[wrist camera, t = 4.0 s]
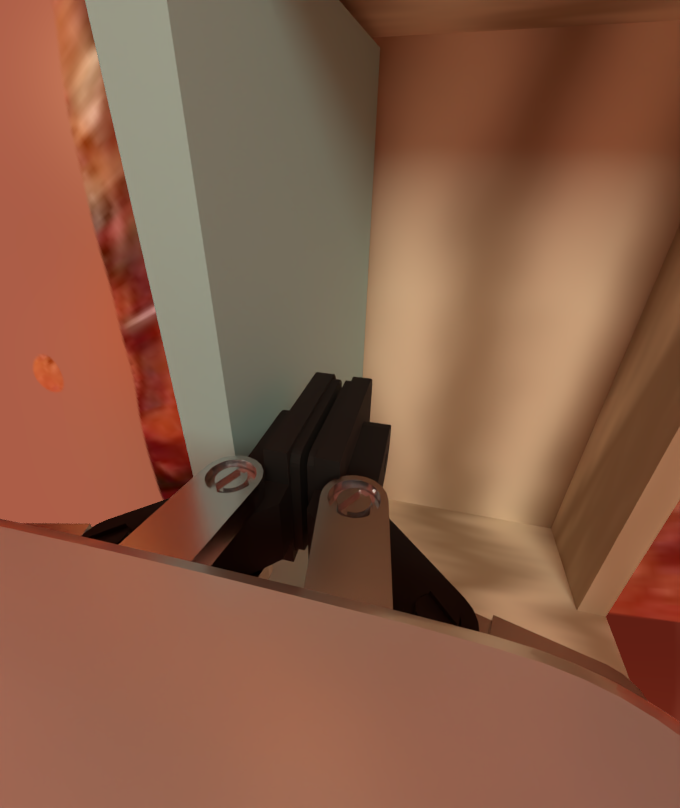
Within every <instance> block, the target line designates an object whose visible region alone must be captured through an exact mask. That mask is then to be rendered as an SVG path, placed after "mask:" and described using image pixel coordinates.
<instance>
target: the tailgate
mask: <svg viewBox="0 0 680 808" xmlns="http://www.w3.org/2000/svg"><path fill="white" fill-rule="evenodd" d="M85 2H86V6H87V11H88V15H89V20H90V24H91V28H92V33H93V37H94V42H95V46H96V50H97V55H98V59H99V64H100V68H101V72H102V77H103V81H104V86H105V90H106V94H107V99H108V103H109V108H110V112H111V116H112V121H113V125H114V130H115V134H116V138H117V143H118V147H119V152H120V156H121V160H122V165H123V169H124V174H125V178H126V182H127V187H128V191H129V196H130V200H131V204H132V209H133V213H134V218H135V222H136V226H137V231H138V235H139V240H140V244H141V248H142V253H143V257H144V262H145V266H146V270H147V275H148V279H149V284H150V288H151V292H152V297H153V301H154V306H155V310H156V314H157V319H158V323H159V328H160V332H161V336H162V341H163V345H164V350H165V354H166V358H167V363H168V367H169V372H170V376H171V380H172V385H173V389H174V394H175V398H176V402H177V407H178V411H179V416H180V420H181V424H182V429H183V433H184V438H185V442H186V446H187V451H188V455H189V460H190V464H191V468H192V473H193V477H194V476H196V475H197V474H198V473H199V472H200V471H201V470H202V469H203V468H204V467H206V466H207V465H209V464H210V463H212V462H213V461H216V460H218V459H220V458H224V457H229V456H246V457H248V456H249V454H250V453H251V452H252V450H253V449H254V448H255V446H256V445H257V443H258V442H259V441H260V439H261V438H262V437H263V435H264V434H265V432H266V431H267V430H268V428H269V427H270V426H271V424H272V423H273V421H274V420H275V419H276V417H277V416H278V415H279V413H280V412H281V411H282V410H290V409H291V408H292V406H293V405H294V403H295V402H296V400H297V399H298V398H299V396H300V395H301V393H302V392H303V390H304V389H305V387H306V386H307V384H308V383H309V382H310V380H311V379H312V377H313V376H314V374H315V373H316V372H321V373H329V374H335V376H336V379H338V380H341V381H342V386H343V384H344V383H345V381H346V380H347V381H351V380H352V378H353V376H354V377H362V378H363V359H364V340H365V322H366V303H367V284H368V266H369V247H370V228H371V209H372V191H373V172H374V153H375V135H376V116H377V97H378V78H379V60H380V47H379V46H378V45H377V44H376V42H375V41H374V40H373V39H372V38H371V37H370V36H369V34H368V33H367V32H366V31H365V30H364V29H363V27H362V26H361V25H360V24H359V23H358V22H357V20H356V19H355V18H354V17H353V16H352V15H351V14H350V12H349V11H348V10H347V9H346V8H345V7H344V5H343V4H342V3H341V2H340V1H339V0H85ZM307 566H308V545H307V547H306V549H305V550H300V549H299V550H298V553H297V555H296V558H295V560H294V562H291V561H287V560H280V561H278V562H276V563H274V564H273V571H272V573H271V575H270V578H269V579H268V580H272V581H276V582H280V583H284V584H288V585H292V586H297V587H301V588H304V583H305V578H306V572H307Z"/></svg>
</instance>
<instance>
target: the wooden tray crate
mask: <svg viewBox="0 0 680 808" xmlns="http://www.w3.org/2000/svg"><path fill="white" fill-rule="evenodd" d="M339 1H340V2H341V3H342V4H343V5H344V7H345V8H346V9H347V10H348V11H349V12H350V14H351V15H352V16H353V17H354V18H355V19H356V20H357V22H358V23H359V24H360V25H361V26H362V27H363V29H364V30H365V31H366V32H367V33H368V34H369V36H370V37H371V38H372V39H373V40H374V41H375V42H376V44H377V45H378V46H379V47H380V60H379V78H378V97H377V116H376V135H375V153H374V172H373V191H372V209H371V228H370V247H369V266H368V284H367V303H366V322H365V340H364V359H363V378H370V379H372V397H371V411H370V422H374V423H381V424H388V425H391V436H390V445H389V454H388V461H387V468H386V474H385V479H384V484H383V489H384V490H385V491H386V493H387V496H388V501H389V518H390V520H391V521H392V522H393V523H394V524H395V525H396V526H397V527H398V528H399V529H400V530H401V531H402V532H403V533H404V534H405V535H406V536H407V537H408V539H409V540H410V541H411V542H412V543H413V544H414V545H415V546H416V547H417V548H418V549H419V550H420V551H421V552H422V553H423V554H424V555H425V556H426V558H427V559H428V560H429V561H430V562H431V563H432V564H433V565H434V566H435V567H436V568H437V569H438V570H439V571H440V572H441V573H442V574H443V575H444V577H445V578H446V579H447V580H448V581H449V582H450V583H451V584H452V585H453V586H454V587H455V588H456V589H457V590H458V591H459V592H460V593H461V594H462V595H463V597H464V598H465V599H466V600H467V602H468V603H469V604H470V606H471V607H472V608H473V610H474V612H475V613H476V614H478V615H481V616H483V617H485V618H487V619H490V620H492V617H493V615H495V616H497V617H500V618H502V619H504V620H506V621H509V622H511V623H513V624H515V625H518V626H520V627H522V628H525V629H527V630H529V631H531V632H534V633H536V634H538V635H541V636H543V637H545V638H547V639H550V640H552V641H554V642H556V643H559V644H561V645H563V646H566V647H568V648H570V649H572V650H575V651H577V652H579V653H581V654H584V655H586V656H588V657H591V658H593V659H595V660H597V661H600V662H602V663H604V664H607V665H608V666H610V667H612V668H613V669H615V670H617V671H618V672H620V673H622V674H623V675H625V676H626V677H627V678H628V679H629V677H628V674H627V672H626V669H625V666H624V664H623V661H622V659H621V656H620V653H619V651H618V648H617V645H616V643H615V640H614V637H613V635H612V632H611V630H610V627H609V625H608V621H607V619H606V615H607V614H608V612H609V611H610V609H611V607H612V606H613V604H614V603H615V601H616V600H617V598H618V596H619V595H620V593H621V592H622V590H623V588H624V587H625V585H626V584H627V582H628V581H629V579H630V577H631V576H632V574H633V573H634V571H635V569H636V568H637V566H638V565H639V563H640V561H641V560H642V558H643V557H644V555H645V554H646V552H647V550H648V549H649V547H650V546H651V544H652V542H653V541H654V539H655V538H656V536H657V535H658V533H659V531H660V530H661V528H662V527H663V525H664V523H665V522H666V520H667V519H668V517H669V515H670V514H671V512H672V511H673V509H674V508H675V506H676V504H677V503H678V501H679V500H680V0H339Z"/></svg>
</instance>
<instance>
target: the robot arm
mask: <svg viewBox="0 0 680 808" xmlns="http://www.w3.org/2000/svg"><path fill="white" fill-rule="evenodd" d="M371 397H372V379H370V378H362V377H354V376H353V378H352V380H351V381H347V380H346V381H345V383H344V384H343V386H342V381H341V380H338V379H336V376H335V374H329V373H321V372H316V373H315V374H314V376H313V377H312V379H311V380H310V382H309V383H308V384H307V386H306V387H305V389H304V390H303V392H302V393H301V395H300V396H299V398H298V399H297V400H296V402H295V403H294V405H293V406H292V408H291V409H290V410H282V411H281V412H280V413H279V415H278V416H277V417H276V419H275V420H274V421H273V423H272V424H271V426H270V427H269V428H268V430H267V431H266V432H265V434H264V435H263V437H262V438H261V439H260V441H259V442H258V443H257V445H256V446H255V448H254V449H253V450H252V452H251V453H250V454H249V456H248V457H246V456H229V457H224V458H220V459H218V460H216V461H213V462H212V463H210V464H209V465H207V466H206V467H204V468H203V469H202V470H201V471H200V472H199V473H198V474H197V475H196V476H194V477H193V478H192V479H191V480H190V481H189V482H188V483H187V484H185V485H184V486H183V487H182V488H181V489H180V490H179V491H178V492H177V493H175V494H174V495H173V496H172V497H171V498H169V499H166V500H163V501H160V502H157V503H155V504H152V505H149V506H146V507H143V508H140V509H137V510H134V511H131V512H128V513H125V514H123V515H120V516H117V517H114V518H111V519H108V520H106V521H103V522H101V523H99V524H97V525H95V526H94V527H91V525H90V524H59V523H57V524H55V523H18V522H13V521H8V520H3V519H0V808H680V722H679V721H678V720H676V719H675V718H673V717H672V716H671V715H669V714H668V713H666V712H665V711H663V710H661V709H660V708H658V707H656V706H654V705H653V704H651V703H650V702H648V701H647V699H646V698H645V697H644V695H643V694H642V692H641V691H640V689H639V688H637V687H636V686H635V685H634V684H633V683H632V682H631V681H630V680H629V679H628V678H627V677H626V676H625V675H623V674H622V673H620V672H618V671H617V670H615V669H613V668H612V667H610V666H608V665H607V664H604V663H602V662H600V661H597V660H595V659H593V658H591V657H588V656H586V655H584V654H581V653H579V652H577V651H575V650H572V649H570V648H568V647H566V646H563V645H561V644H559V643H556V642H554V641H552V640H550V639H547V638H545V637H543V636H541V635H538V634H536V633H534V632H531V631H529V630H527V629H525V628H522V627H520V626H518V625H515V624H513V623H511V622H509V621H506V620H504V619H502V618H500V617H497V616H495V615H493V617H492V620H490V619H487V618H485V617H483V616H481V615H478V614H476V613H475V612H474V610H473V608H472V607H471V606H470V604H469V603H468V602H467V600H466V599H465V598H464V597H463V595H462V594H461V593H460V592H459V591H458V590H457V589H456V588H455V587H454V586H453V585H452V584H451V583H450V582H449V581H448V580H447V579H446V578H445V577H444V575H443V574H442V573H441V572H440V571H439V570H438V569H437V568H436V567H435V566H434V565H433V564H432V563H431V562H430V561H429V560H428V559H427V558H426V556H425V555H424V554H423V553H422V552H421V551H420V550H419V549H418V548H417V547H416V546H415V545H414V544H413V543H412V542H411V541H410V540H409V539H408V537H407V536H406V535H405V534H404V533H403V532H402V531H401V530H400V529H399V528H398V527H397V526H396V525H395V524H394V523H393V522H392V521H391V520H390V518H389V501H388V496H387V493H386V491H385V490H384V489H383V484H384V479H385V474H386V468H387V461H388V454H389V445H390V436H391V425H388V424H381V423H374V422H370V411H371ZM307 545H308V566H307V572H306V578H305V583H304V588H301V587H297V586H292V585H288V584H284V583H280V582H276V581H272V580H268V579H269V578H270V575H271V573H272V571H273V564H274V563H276V562H278V561H280V560H287V561H291V562H294V560H295V558H296V555H297V553H298V550H299V549H300V550H305V549H306V547H307Z"/></svg>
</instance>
